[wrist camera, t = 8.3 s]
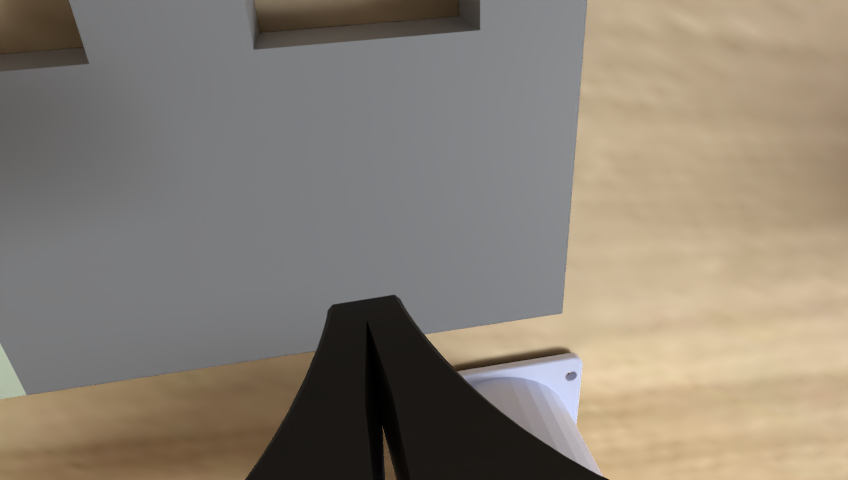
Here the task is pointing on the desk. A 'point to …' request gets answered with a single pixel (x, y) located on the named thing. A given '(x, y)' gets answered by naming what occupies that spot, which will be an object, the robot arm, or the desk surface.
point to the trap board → (276, 182)
